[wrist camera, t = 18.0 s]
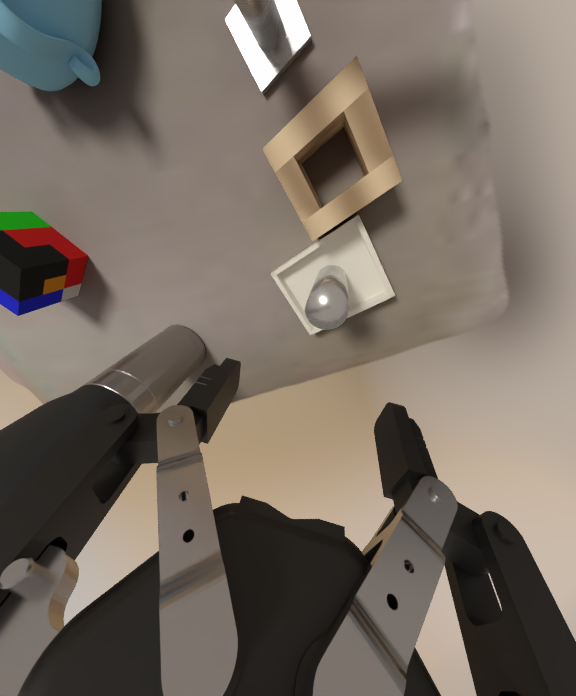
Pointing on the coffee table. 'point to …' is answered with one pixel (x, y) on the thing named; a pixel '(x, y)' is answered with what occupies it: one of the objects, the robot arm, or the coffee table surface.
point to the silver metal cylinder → (328, 299)
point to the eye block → (314, 131)
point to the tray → (346, 252)
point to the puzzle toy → (36, 264)
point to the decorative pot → (50, 41)
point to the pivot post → (268, 36)
